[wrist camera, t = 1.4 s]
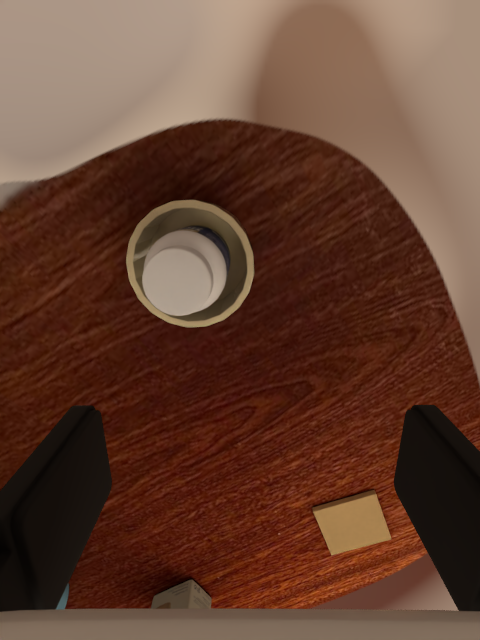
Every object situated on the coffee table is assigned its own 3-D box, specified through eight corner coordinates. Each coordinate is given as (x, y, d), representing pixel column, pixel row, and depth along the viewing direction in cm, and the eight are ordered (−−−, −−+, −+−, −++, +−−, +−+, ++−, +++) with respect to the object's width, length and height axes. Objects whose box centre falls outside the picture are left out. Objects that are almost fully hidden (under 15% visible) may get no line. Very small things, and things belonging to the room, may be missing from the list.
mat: (374, 489, 37) (376, 493, 36) (389, 534, 39) (391, 539, 38) (311, 507, 38) (312, 511, 37) (330, 550, 40) (331, 555, 39)
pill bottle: (207, 211, 27) (188, 214, 18) (242, 267, 29) (242, 297, 20) (153, 247, 28) (109, 268, 19) (190, 300, 30) (166, 343, 20)
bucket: (228, 182, 27) (224, 178, 22) (267, 286, 30) (271, 302, 25) (127, 226, 28) (103, 230, 23) (173, 322, 31) (160, 343, 26)
